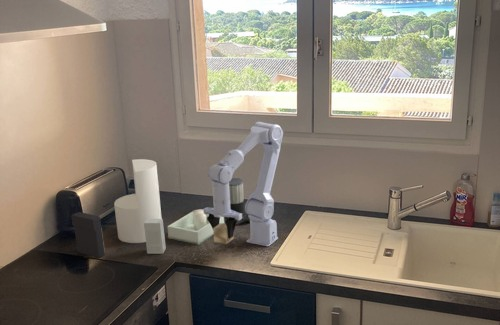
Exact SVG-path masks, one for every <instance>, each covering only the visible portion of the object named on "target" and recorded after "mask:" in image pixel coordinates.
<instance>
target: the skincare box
mask: <svg viewBox="0 0 500 325" xmlns="http://www.w3.org/2000/svg"><path fill="white" fill-rule="evenodd" d="M144 229H145V238H146V242H145V246H146V254H150V255H151V254H152V255H153V254H154V255H155V254H158V255H159V254H160V255H161V254H162V255H163V254H164V252H165V251H166V249H167V248H166V238H165V230H164V219H163V218H162V219H147V220H146V221H145V222H144Z"/></svg>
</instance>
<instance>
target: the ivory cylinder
mask: <svg viewBox="0 0 500 325" xmlns="http://www.w3.org/2000/svg"><path fill="white" fill-rule="evenodd" d="M203 209H204V208H203ZM203 209H202V208H199V209H194V210H195V211H194V210H192V212H193V218H194V229H195V230H197V231H198V230H199V229H201V228H202V227H204V226H206V225H207V220H206V215H205V214H204V212H203Z"/></svg>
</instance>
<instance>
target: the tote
mask: <svg viewBox="0 0 500 325" xmlns="http://www.w3.org/2000/svg"><path fill="white" fill-rule="evenodd" d="M195 210H196V209H194V210H193V211H195ZM193 211H191V212H189V213H188V214H186V215H184V216H183V217H181V218H179V219H177V220H176V221H174V222H172V223H171V224H169V225H167V234H168V235H167V236H168V239H170V240H174V241H180V242H184V243H188V244H193V245H199V246H200V244H203V243H204V242H205V241H207V240H208V239H209V238H210V237H212V236H214V233H213V229H212V226H211V224H210V223H209V221H208V220H207V217H209V214H206V220H207V225H206V226H204V227H202V228H201V229H199V230H198V231H197V230H195V229H194V218H193ZM220 223H223V224H225V217H220V221H219V224H220Z"/></svg>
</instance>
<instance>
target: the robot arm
mask: <svg viewBox="0 0 500 325" xmlns="http://www.w3.org/2000/svg"><path fill="white" fill-rule="evenodd" d="M283 135H284V131H283V129H282V128H281V126H280V125H279V124H273V123H266V122H262V121H257V122H255V123H254V125H253V126H251V128H250V132H249V134H248V135H247V136H246V137H245V138H244V140H243V141H242V142H241V143H240V144H239V146H238V147H237V148H236V149H231V150H229V151H227V154H226V155H225V156H224V157H223V158H222V159H221V160H219V161H218V163H216V164H213V165H211V167H210V168H209V170H208V173H207V178H208V179H209V180H210V184H211V188H212V200H213V201H212V202H213V207H208V206H207V207H205V208H203V212H204V214H205V215H206V214H209V217H207V220H208V221H209V223H210V224H211V226H212V229H213V228H214V227H216V226H217V225H219V221H220V217H224V218H227V219H226V220H224V224H226V226H227V231H228V238H232V237H233V233H235V228H236V226H237V223H238V221H241V220H242V213H238V212H236V211H233V210H231V209H230V192H229V181H231V179H232V178H233V175H234V173H235V171H236V170H237V169H238V168H239V167H240V166H241V165H242V164H243V163H244V160H245V159H244V158H245V155H247V154H248V153H249V152H250V151H251V150H252V149H253V148H254V147H256V146H257V145H258V144H261V145H262V147H263V149H264V152H263V157H262V161H261V165H260V169H259V174H258V177H257V182H256V187H255V190H254V191H253V192H252V193H250V194H249V196H248V199H247V200H246V202H245V203H244V212H245V214H247V215H248V216H249V218H250V221H249V227H250V228H249V230H250V237H249V238H248V239H247V240H246V243H249V244H254V245H258V246H264V247H270V246H271V245H272V244H273V243H275V242H276V241H277V240H278V239H279V237H278V227H277V226H278V223H277V221H276V220H274V219H272V217H273V215H274V212H275V210H274V207H275V206H274V205H275V200H274V198H273V197H272V195H271V190H272V186H273V183H274V182H273V181H274V179H275V178H274V177H275V174H276V173H275V172H276V169H277V165H278V160H279V155H280V151H281V147H282V146H281V145H282V140H283Z"/></svg>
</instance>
